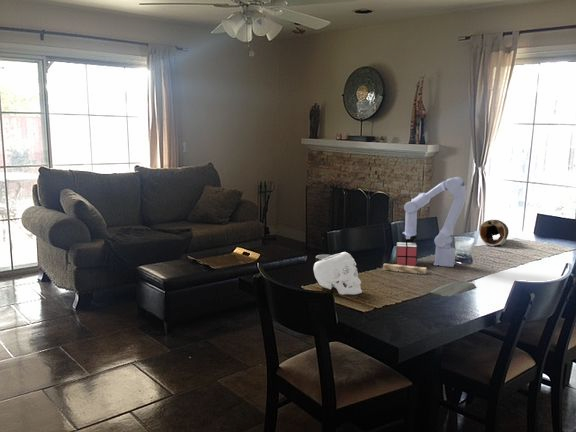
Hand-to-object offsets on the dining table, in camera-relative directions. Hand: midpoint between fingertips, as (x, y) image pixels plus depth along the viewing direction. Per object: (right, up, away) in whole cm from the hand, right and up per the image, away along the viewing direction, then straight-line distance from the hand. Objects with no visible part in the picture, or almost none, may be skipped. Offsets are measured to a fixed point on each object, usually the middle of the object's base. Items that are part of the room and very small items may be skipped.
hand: (409, 250), depth 268 cm
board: (-8, -9, -22) cm, 25 cm away
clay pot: (+61, +2, +41) cm, 73 cm away
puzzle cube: (-4, -7, -8) cm, 11 cm away
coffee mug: (-45, -11, -32) cm, 56 cm away
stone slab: (+6, -14, -50) cm, 53 cm away
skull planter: (-42, -14, -50) cm, 67 cm away
